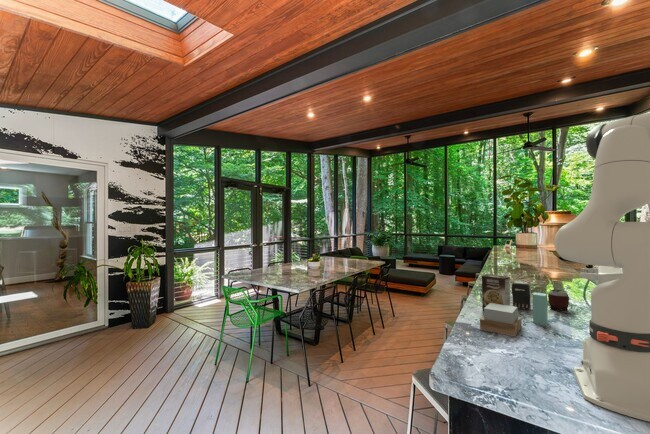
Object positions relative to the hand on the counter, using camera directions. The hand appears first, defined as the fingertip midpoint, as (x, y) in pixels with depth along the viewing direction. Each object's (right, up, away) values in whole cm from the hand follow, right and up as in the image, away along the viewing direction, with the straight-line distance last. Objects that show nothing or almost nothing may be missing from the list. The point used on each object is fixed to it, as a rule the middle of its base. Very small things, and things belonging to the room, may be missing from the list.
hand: (580, 272), depth 105 cm
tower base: (-26, -21, +4) cm, 34 cm away
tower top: (-26, -17, +4) cm, 31 cm away
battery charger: (-3, -21, +26) cm, 34 cm away
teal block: (-8, -21, +8) cm, 24 cm away
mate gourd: (+11, -20, +24) cm, 34 cm away
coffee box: (-19, -21, +19) cm, 34 cm away
